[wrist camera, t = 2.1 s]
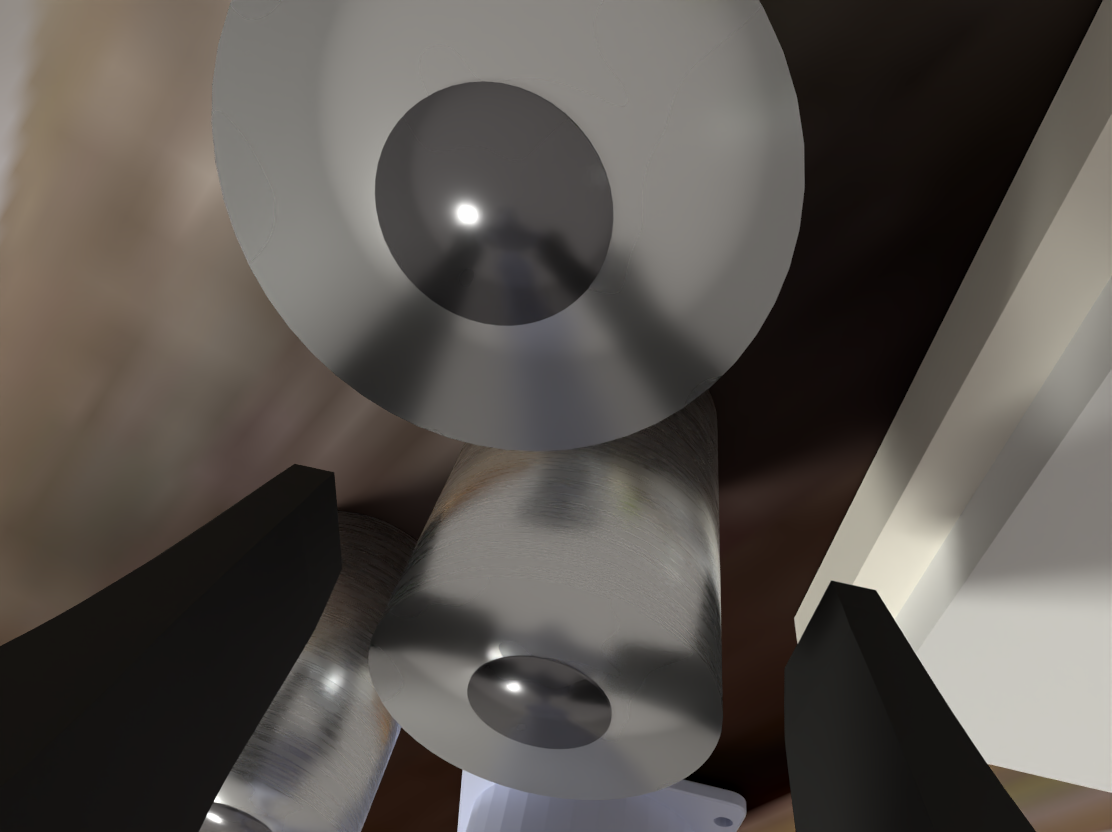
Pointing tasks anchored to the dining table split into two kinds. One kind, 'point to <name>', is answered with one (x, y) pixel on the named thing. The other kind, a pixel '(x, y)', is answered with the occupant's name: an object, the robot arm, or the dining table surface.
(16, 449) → the dining table surface
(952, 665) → the scale
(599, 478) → the cylinder
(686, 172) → the cylinder
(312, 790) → the cylinder
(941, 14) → the dining table surface
